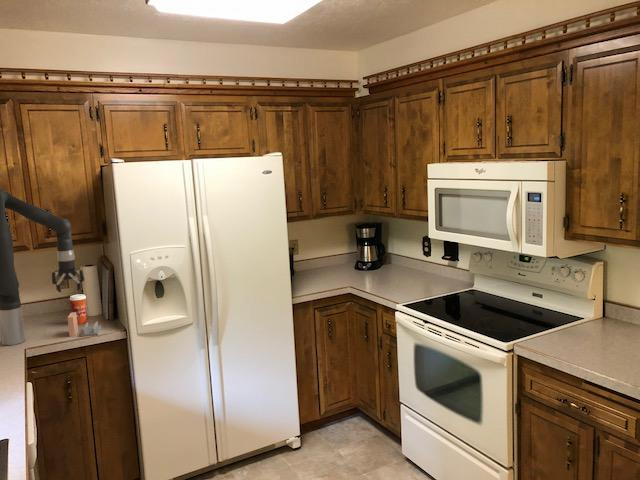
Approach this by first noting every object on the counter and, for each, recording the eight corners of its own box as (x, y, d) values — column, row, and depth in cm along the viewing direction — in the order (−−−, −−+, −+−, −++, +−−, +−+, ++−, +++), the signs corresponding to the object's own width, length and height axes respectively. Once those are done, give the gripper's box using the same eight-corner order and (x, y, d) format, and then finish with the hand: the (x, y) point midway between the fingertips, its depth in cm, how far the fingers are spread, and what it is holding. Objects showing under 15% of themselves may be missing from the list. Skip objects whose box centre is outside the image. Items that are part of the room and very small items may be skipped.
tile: (74, 336, 264) (72, 316, 262) (69, 336, 263) (67, 317, 262) (78, 330, 272) (76, 312, 271) (73, 331, 272) (71, 312, 270)
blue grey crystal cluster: (80, 336, 263) (79, 330, 262) (84, 328, 275) (83, 322, 274) (97, 335, 265) (96, 328, 264) (101, 327, 277) (100, 320, 276)
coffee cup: (77, 326, 280) (74, 298, 278) (69, 323, 285) (66, 296, 283) (91, 322, 287) (89, 295, 284) (83, 319, 292) (81, 293, 289)
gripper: (48, 261, 257) (52, 294, 259) (80, 259, 260) (83, 291, 263) (52, 259, 264) (55, 290, 266) (83, 256, 267) (86, 288, 270)
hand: (69, 291), depth 264 cm, fingers open, 8 cm apart
